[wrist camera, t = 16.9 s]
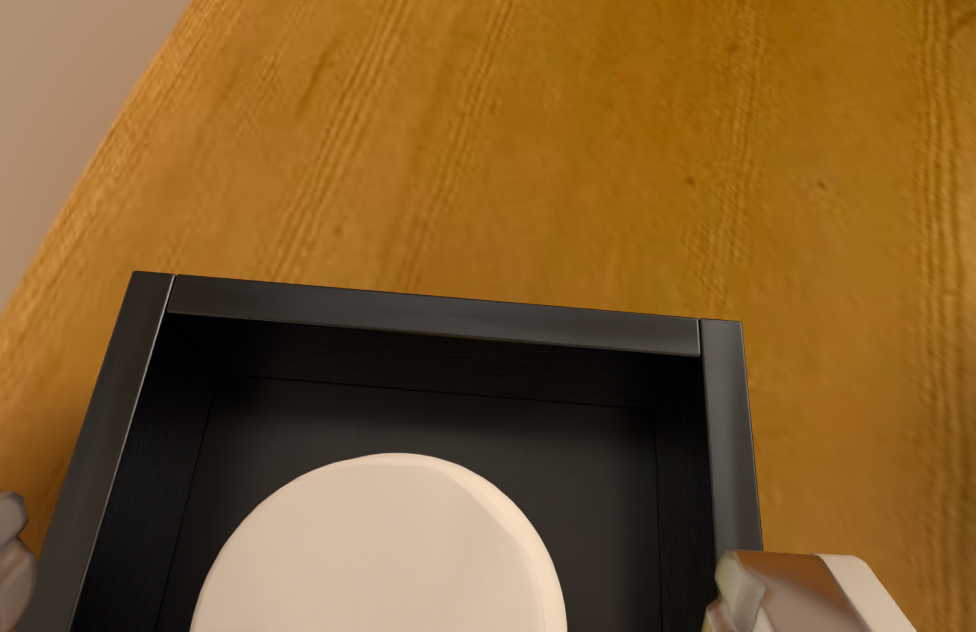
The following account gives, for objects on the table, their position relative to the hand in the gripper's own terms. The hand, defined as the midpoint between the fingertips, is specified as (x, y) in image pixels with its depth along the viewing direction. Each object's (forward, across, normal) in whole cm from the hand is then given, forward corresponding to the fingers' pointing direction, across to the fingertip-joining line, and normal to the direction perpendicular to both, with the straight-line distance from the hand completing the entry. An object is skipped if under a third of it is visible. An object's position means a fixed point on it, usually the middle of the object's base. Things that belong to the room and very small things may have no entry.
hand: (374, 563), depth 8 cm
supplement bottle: (+6, 0, +7) cm, 10 cm away
